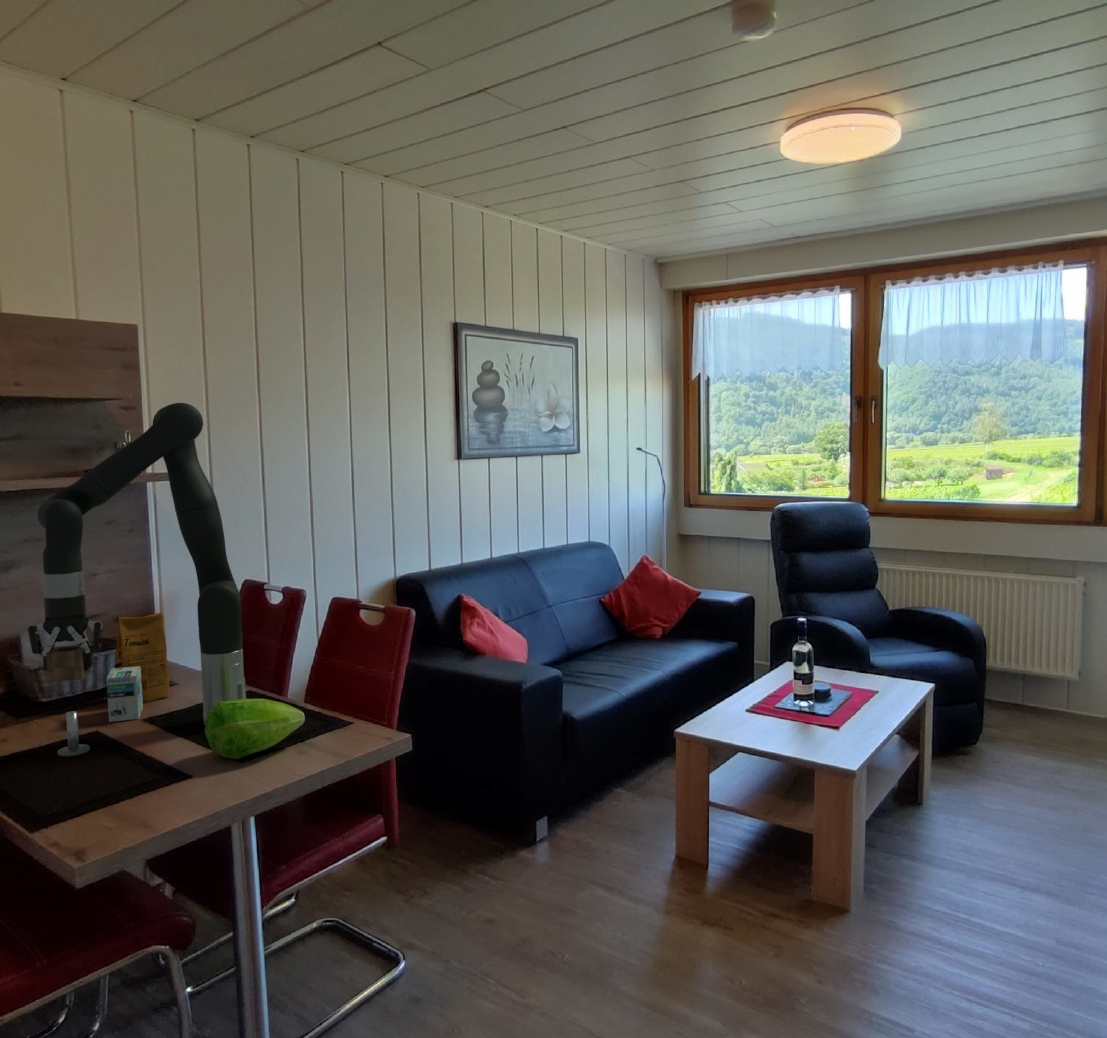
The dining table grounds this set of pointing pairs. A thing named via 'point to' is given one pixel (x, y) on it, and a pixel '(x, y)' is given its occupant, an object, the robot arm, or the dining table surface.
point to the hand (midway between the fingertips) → (68, 670)
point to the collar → (65, 663)
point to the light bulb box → (124, 693)
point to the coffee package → (145, 653)
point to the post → (73, 738)
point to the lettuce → (249, 725)
